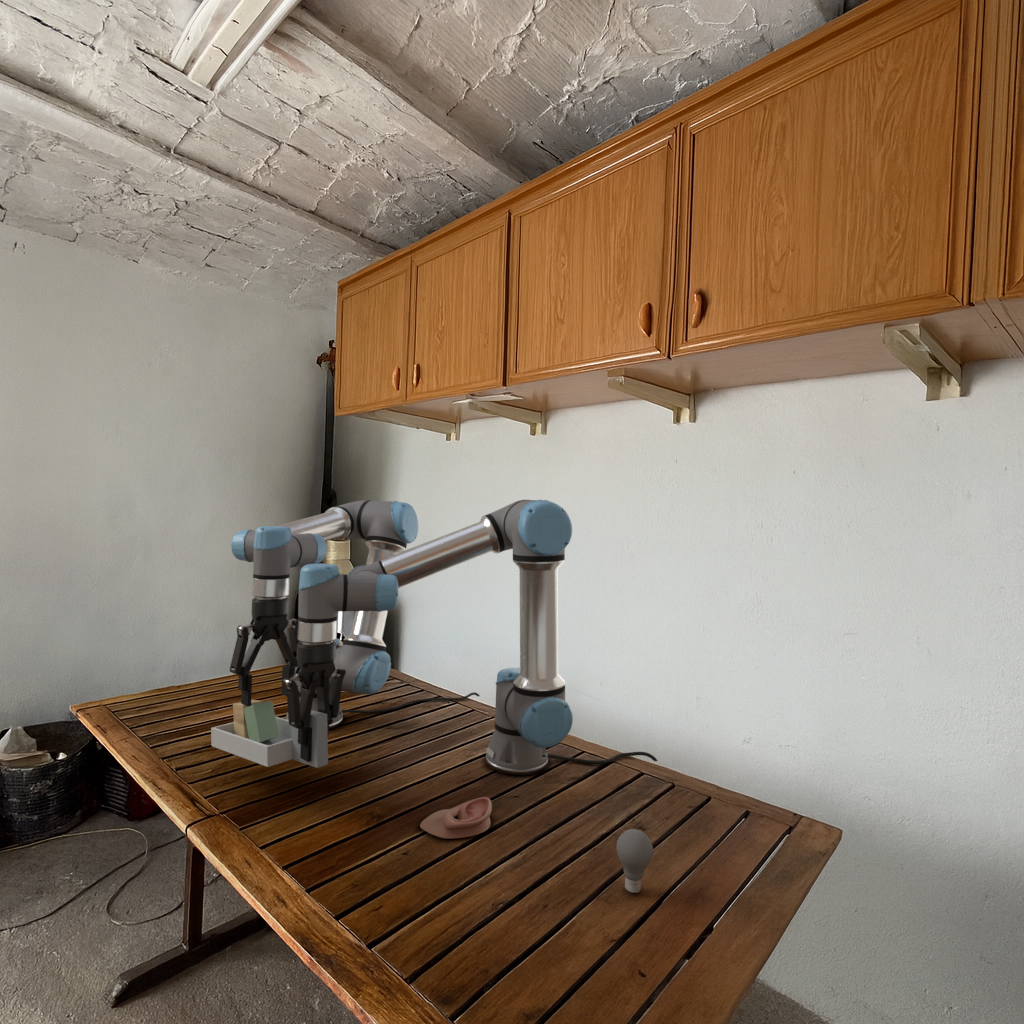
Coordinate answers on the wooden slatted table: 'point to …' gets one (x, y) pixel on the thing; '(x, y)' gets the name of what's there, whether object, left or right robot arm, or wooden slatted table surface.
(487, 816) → the anatomical model
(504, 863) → the wooden slatted table surface
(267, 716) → the sage block
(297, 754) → the tray
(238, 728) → the birch block
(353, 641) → the left robot arm
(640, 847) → the light bulb
